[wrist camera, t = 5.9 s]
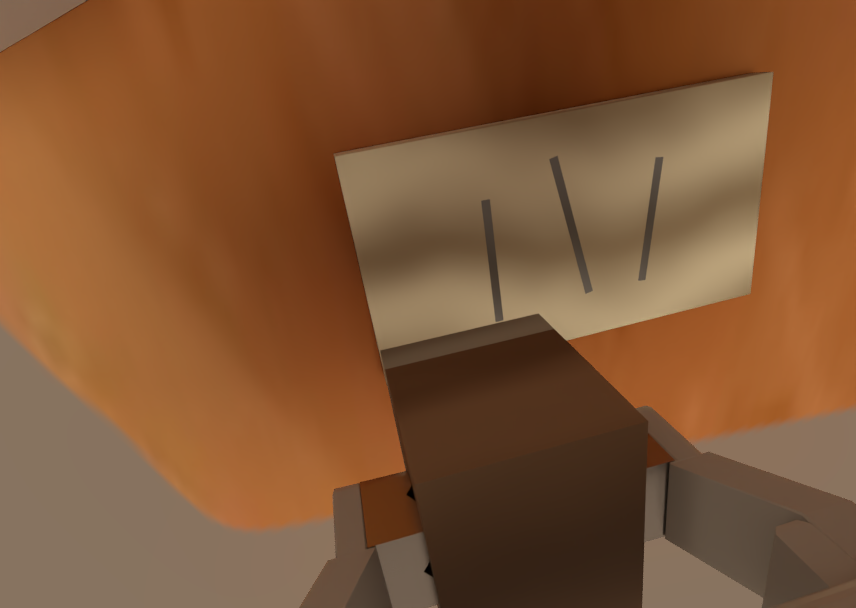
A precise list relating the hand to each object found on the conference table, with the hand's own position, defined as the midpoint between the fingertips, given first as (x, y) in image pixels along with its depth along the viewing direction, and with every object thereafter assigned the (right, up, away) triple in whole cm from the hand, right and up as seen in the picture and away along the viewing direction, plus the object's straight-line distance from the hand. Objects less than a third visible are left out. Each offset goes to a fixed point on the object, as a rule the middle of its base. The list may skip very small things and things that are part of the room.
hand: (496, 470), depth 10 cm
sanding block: (0, +1, +1) cm, 2 cm away
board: (+5, +7, +15) cm, 17 cm away
